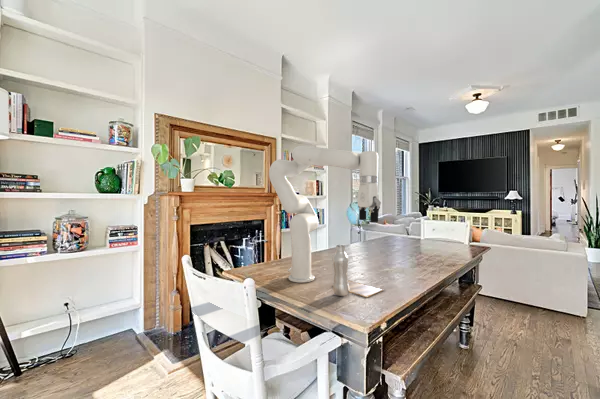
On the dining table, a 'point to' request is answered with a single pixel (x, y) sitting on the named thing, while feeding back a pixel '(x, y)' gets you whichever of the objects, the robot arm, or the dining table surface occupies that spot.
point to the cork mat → (362, 289)
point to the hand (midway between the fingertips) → (368, 220)
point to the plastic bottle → (340, 271)
